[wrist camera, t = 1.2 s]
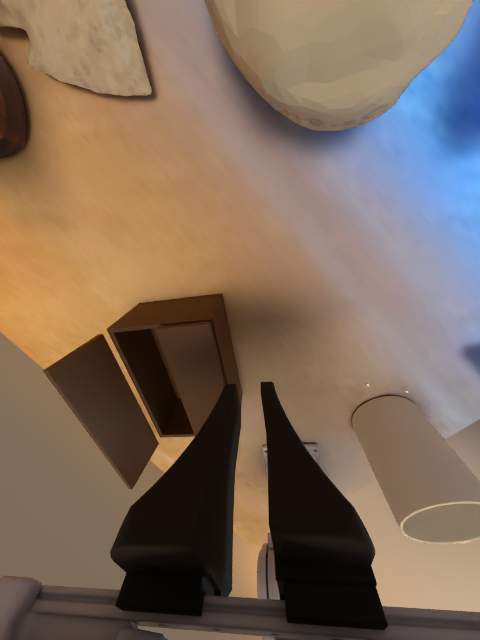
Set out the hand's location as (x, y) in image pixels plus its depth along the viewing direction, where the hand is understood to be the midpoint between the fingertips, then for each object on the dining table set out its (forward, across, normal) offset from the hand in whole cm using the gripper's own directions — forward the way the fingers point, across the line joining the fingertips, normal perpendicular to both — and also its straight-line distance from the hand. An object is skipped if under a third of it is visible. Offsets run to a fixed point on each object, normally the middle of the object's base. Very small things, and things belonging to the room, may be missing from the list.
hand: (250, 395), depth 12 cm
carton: (+10, +7, +4) cm, 13 cm away
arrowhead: (+10, +11, -25) cm, 29 cm away
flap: (+2, +12, +4) cm, 12 cm away
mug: (+11, -16, +18) cm, 26 cm away
